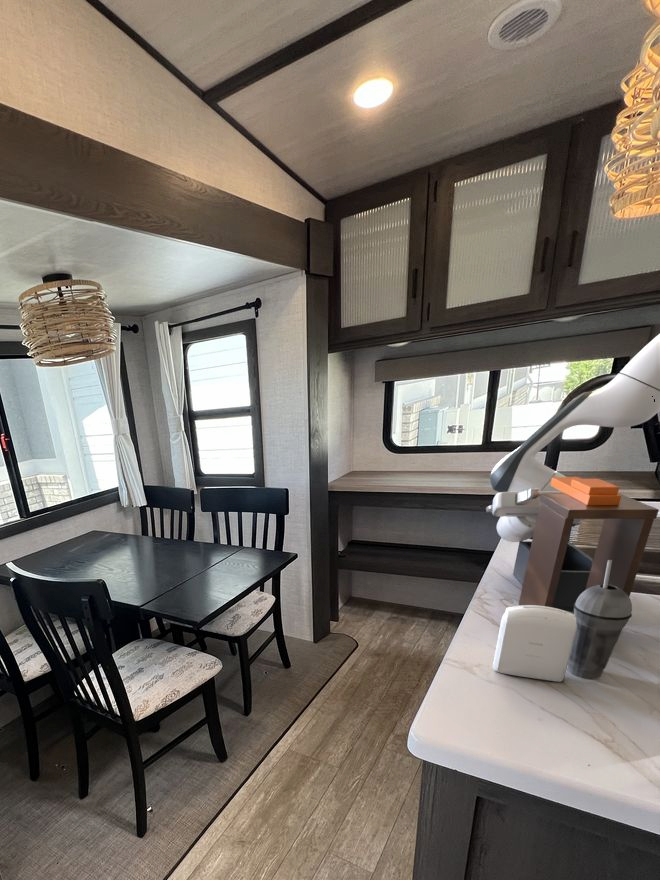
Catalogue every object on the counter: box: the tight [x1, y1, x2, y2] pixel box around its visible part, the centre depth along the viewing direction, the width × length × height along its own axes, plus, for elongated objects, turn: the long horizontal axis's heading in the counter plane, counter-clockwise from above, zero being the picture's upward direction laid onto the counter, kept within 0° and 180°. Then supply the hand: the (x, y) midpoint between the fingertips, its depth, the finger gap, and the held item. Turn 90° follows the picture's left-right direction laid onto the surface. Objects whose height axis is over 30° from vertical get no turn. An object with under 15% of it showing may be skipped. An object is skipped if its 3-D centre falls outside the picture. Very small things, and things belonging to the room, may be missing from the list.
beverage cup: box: [566, 560, 633, 680], centre depth 75 cm, size 7×7×20 cm
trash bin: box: [512, 540, 594, 612], centre depth 106 cm, size 11×22×9 cm, turn 164°
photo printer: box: [492, 605, 577, 683], centre depth 77 cm, size 10×4×12 cm, turn 63°
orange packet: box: [550, 476, 622, 505], centre depth 84 cm, size 18×4×3 cm, turn 163°
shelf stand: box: [517, 492, 660, 607], centre depth 85 cm, size 12×13×26 cm
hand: (562, 491), depth 92 cm, fingers open, 8 cm apart
